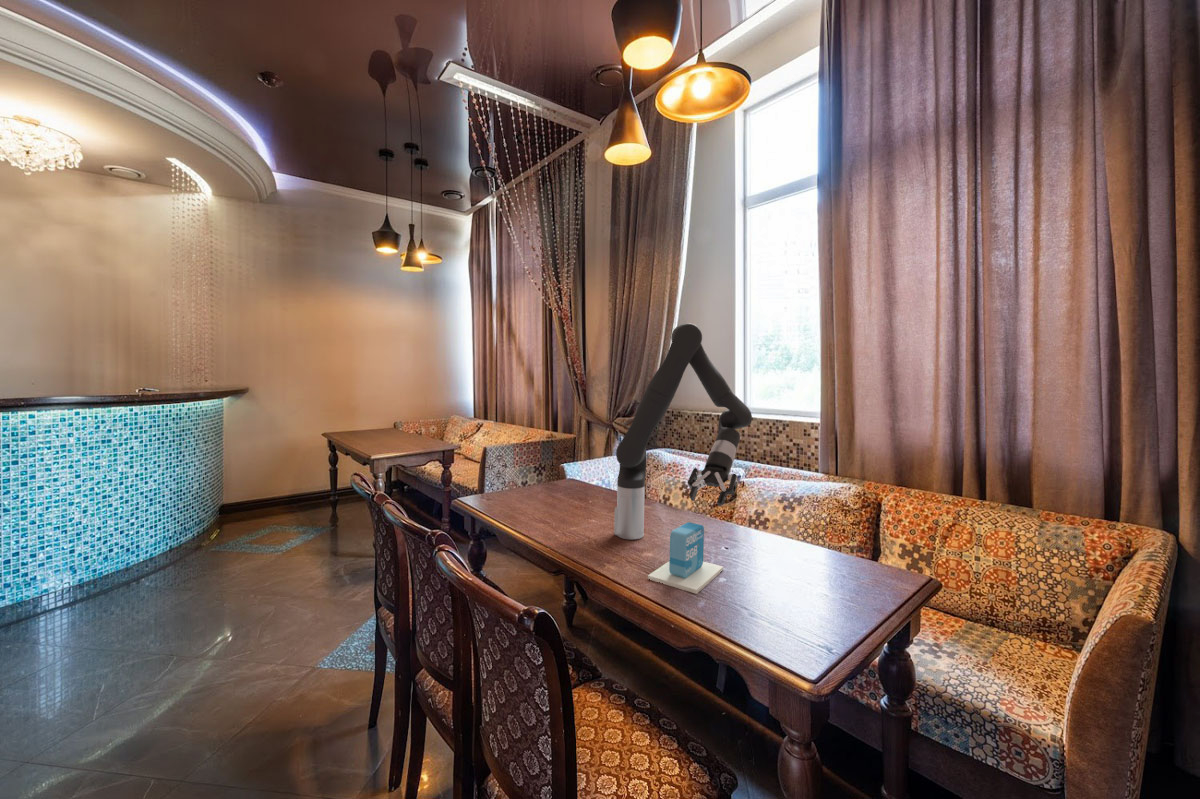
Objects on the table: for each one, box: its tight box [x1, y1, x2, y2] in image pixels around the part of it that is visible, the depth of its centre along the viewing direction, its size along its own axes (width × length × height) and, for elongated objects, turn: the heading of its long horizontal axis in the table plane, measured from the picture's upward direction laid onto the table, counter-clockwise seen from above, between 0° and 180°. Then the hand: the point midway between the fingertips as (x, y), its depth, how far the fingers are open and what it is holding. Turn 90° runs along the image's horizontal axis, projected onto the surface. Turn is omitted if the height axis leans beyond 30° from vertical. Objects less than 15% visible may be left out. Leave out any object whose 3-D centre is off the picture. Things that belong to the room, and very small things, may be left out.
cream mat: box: [647, 560, 724, 595], centre depth 127 cm, size 14×18×1 cm
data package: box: [668, 521, 705, 578], centre depth 127 cm, size 12×4×12 cm, turn 143°
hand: (705, 501), depth 136 cm, fingers open, 8 cm apart
